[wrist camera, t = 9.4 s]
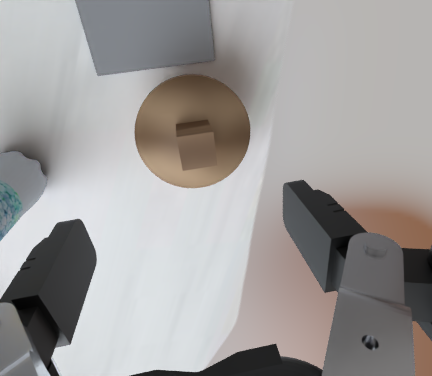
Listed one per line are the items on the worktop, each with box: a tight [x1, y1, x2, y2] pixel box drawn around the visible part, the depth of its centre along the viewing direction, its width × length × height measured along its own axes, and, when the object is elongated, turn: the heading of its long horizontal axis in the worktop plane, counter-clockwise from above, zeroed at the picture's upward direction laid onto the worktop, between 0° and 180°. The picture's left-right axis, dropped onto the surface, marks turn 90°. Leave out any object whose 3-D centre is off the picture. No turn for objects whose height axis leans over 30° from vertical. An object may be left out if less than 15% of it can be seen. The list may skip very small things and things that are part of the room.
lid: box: [135, 74, 250, 188], centre depth 25 cm, size 11×11×5 cm
